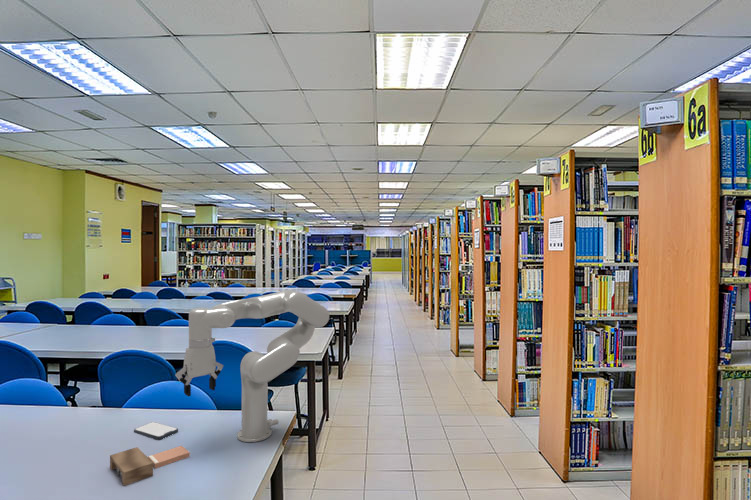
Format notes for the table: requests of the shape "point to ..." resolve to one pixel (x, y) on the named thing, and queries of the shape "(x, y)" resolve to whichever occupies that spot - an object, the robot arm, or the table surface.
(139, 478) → the wooden channel block
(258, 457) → the table surface
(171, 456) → the salmon pink flat block
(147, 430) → the smartphone
